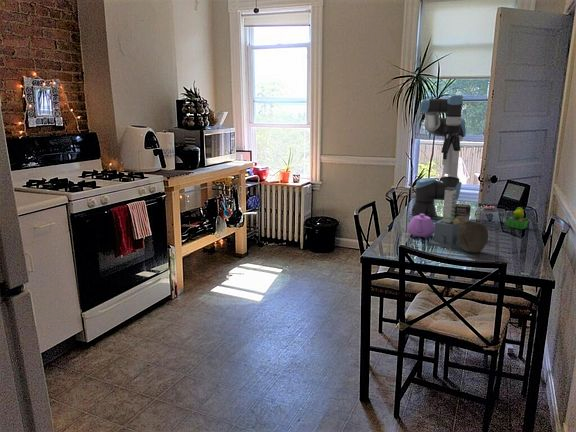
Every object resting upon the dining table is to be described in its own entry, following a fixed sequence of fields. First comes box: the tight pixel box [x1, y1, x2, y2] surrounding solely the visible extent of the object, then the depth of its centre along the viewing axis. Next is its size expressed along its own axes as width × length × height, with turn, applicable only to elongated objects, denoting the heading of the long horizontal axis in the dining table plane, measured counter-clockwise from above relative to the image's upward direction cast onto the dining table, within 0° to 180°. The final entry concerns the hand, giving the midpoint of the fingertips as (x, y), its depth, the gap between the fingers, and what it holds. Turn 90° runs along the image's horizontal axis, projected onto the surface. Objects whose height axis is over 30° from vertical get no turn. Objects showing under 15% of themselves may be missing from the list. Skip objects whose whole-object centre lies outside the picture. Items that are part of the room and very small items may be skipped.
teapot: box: [407, 214, 435, 239], centre depth 245 cm, size 20×14×12 cm
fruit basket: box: [504, 206, 530, 230], centre depth 262 cm, size 11×9×11 cm
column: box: [442, 187, 457, 224], centre depth 231 cm, size 5×4×21 cm
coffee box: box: [453, 203, 472, 227], centre depth 249 cm, size 9×6×16 cm
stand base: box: [427, 218, 460, 250], centre depth 234 cm, size 12×16×13 cm
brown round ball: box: [458, 220, 489, 254], centre depth 220 cm, size 14×14×15 cm
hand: (449, 163), depth 254 cm, fingers open, 13 cm apart
